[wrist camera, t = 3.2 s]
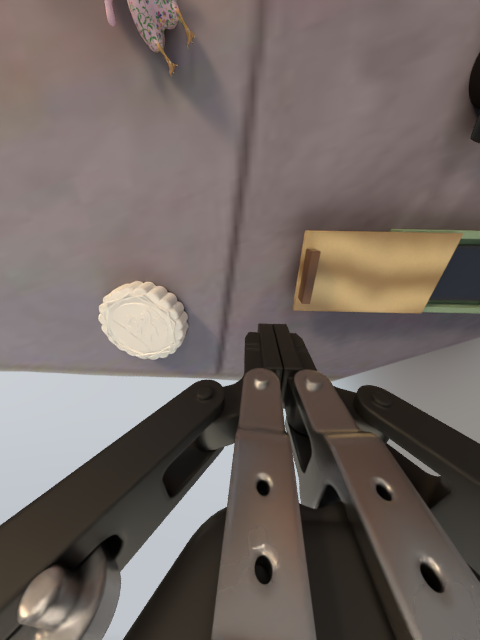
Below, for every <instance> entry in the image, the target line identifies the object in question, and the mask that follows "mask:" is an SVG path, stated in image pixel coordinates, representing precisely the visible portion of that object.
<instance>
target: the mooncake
mask: <svg viewBox="0 0 480 640" xmlns="http://www.w3.org/2000/svg"><path fill="white" fill-rule="evenodd" d="M99 311H100V313H101V314H100V315H99V317H98V318H99V321H100V323H101V324H103V325H102V330H103V332H104V333H105V334H106V335H107V336H108V339H109V340H110V341H111V342H112V343H114V345H116V346H117V347H118V348H119V349H120V350H123V351H126V352H127V353H128V354H129V355H131V356H137V357H139V358H141V359H147V358H149V359H152V360H155V359H158V358H159V357H160V358H165V357H167V356H168V355H169V354H173V353H174V352H175V351H176V350H177V348H178V347H179V346H180V345H181V344H182V342H183V340H184V338H185V336H186V331H187V329H188V323H187V319H188V315H187V313H186V312H184V306H183V304H182V303H181V302H179V301H177V298H176V296H175V295H174V294H173V293H169V292H167V290H166V289H165V288H164V287H163V286H156V285H155V284H153V283H152V282H145V283H142V282H140V281H134V282H132V283H131V284H128V283H127V284H124V285H122V286H120V287H118V288H116V289H114V290H113V291H112V292H111V293H110V294H108V295H106V296H105V297H104V298H103V303H102V304H101V305H100V306H99Z"/></svg>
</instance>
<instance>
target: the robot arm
mask: <svg viewBox="0 0 480 640" xmlns="http://www.w3.org/2000/svg"><path fill="white" fill-rule="evenodd" d="M283 408H284V409H285V411H286V415H287V416H286V420H285V425H284V416H283ZM285 427H286V430H287V432H286V431H285ZM389 438H390V439H391V440H392V441H394V442H395V443H396V444H398V445H399V446H401V447H402V448H404V449H405V450H406V451H408V452H409V453H410V454H412V455H413V456H414V457H416V458H417V459H419V460H420V461H421V462H423V463H424V464H426V465H427V466H428V467H430V468H431V469H432V470H434V471H435V472H437V473H438V474H439V475H441V476H439V477H437V476H433V475H430V474H428V473H426V472H424V471H423V470H422V469H420V468H419V467H418V466H416V465H415V464H414V463H412V462H411V461H410V460H408V459H407V458H406V457H404V456H403V455H402V454H400V453H399V452H398V451H396V450H395V449H394V448H392V447H391V446H390V445H388V444H387V441H388V440H389ZM233 443H235V445H234V454H233V462H232V470H231V479H230V487H229V495H228V504H227V507H226V508H224V509H222V510H220V511H218V512H217V513H215V514H214V515H213V516H211V517H210V518H209V519H208V520H207V521H206V522H205V523H203V524H202V525H201V526H200V528H199V529H198V530H197V531H196V532H195V534H194V535H193V536H192V537H191V539H190V540H189V542H188V543H187V544H186V546H185V547H184V549H183V551H182V552H181V553H180V555H179V557H178V558H177V559H176V561H175V562H174V564H173V566H172V567H171V569H170V570H169V571H168V573H167V574H166V576H165V577H164V579H163V580H162V582H161V583H160V585H159V586H158V588H157V589H156V591H155V592H154V594H153V595H152V597H151V598H150V600H149V602H148V603H147V604H146V606H145V607H144V609H143V610H142V612H141V613H140V615H139V616H138V618H137V619H136V621H135V622H134V624H133V625H132V627H131V628H130V630H129V631H128V633H127V634H126V636H125V637H124V639H123V640H480V444H479V443H477V442H476V441H474V440H472V439H470V438H469V437H467V436H465V435H463V434H462V433H460V432H458V431H456V430H455V429H453V428H451V427H449V426H447V425H446V424H444V423H442V422H441V421H439V420H437V419H435V418H434V417H432V416H430V415H428V414H427V413H425V412H423V411H421V410H419V409H418V408H416V407H414V406H413V405H411V404H409V403H407V402H406V401H404V400H402V399H400V398H399V397H397V396H395V395H394V394H391V393H390V392H388V391H386V390H384V389H382V388H379V387H377V386H371V385H366V386H361V387H360V388H359V389H358V391H357V393H355V392H351V391H347V390H343V389H340V388H337V387H335V386H333V385H332V383H331V382H330V380H329V379H328V378H327V377H326V376H325V375H323V374H322V373H320V372H317V369H316V367H315V365H314V363H313V361H312V359H311V357H310V354H309V352H308V350H307V348H306V347H305V344H304V342H303V339H302V338H301V337H299V336H298V335H297V334H296V333H289V330H288V327H287V325H286V324H258V332H249V333H248V334H247V336H246V337H245V358H244V376H243V377H242V379H241V380H240V381H238V382H237V383H235V384H233V385H229V386H225V387H222V386H221V384H219V383H218V382H216V381H214V380H201V381H198V382H196V383H194V384H192V385H191V386H190V387H188V388H187V389H186V390H184V391H183V392H182V393H180V394H179V395H177V396H176V397H175V398H173V399H172V400H171V401H169V402H168V403H167V404H165V405H164V406H162V407H161V408H160V409H158V410H157V411H156V412H155V413H153V414H152V415H150V416H149V417H147V418H146V419H145V420H143V421H142V422H141V423H139V424H138V425H137V426H135V427H134V428H132V429H131V430H130V431H128V432H127V433H126V434H124V435H123V436H122V437H120V438H119V439H118V440H116V441H115V442H113V443H112V444H111V445H109V446H108V447H107V448H105V449H104V450H102V451H101V452H100V453H98V454H97V455H96V456H94V457H93V458H92V459H90V460H89V461H88V462H86V463H85V464H84V465H82V466H81V467H79V468H78V469H77V470H75V471H74V472H72V473H71V474H70V475H68V476H67V477H66V478H64V479H63V480H62V481H60V482H59V483H58V484H56V485H55V486H53V487H52V488H51V489H49V490H48V491H47V492H46V493H44V494H42V495H41V496H40V497H38V498H37V499H36V500H34V501H33V502H32V503H30V504H29V505H28V506H26V507H25V508H23V509H22V510H21V511H19V512H18V513H17V514H15V515H14V516H13V517H11V518H10V519H8V520H7V521H6V522H4V523H3V524H2V525H0V640H102V638H103V637H104V635H105V633H106V631H107V629H108V627H109V625H110V623H111V621H112V618H113V616H114V613H115V610H116V607H117V603H118V600H119V596H120V588H121V576H120V571H121V570H122V569H123V568H124V566H125V565H126V564H127V563H128V562H129V561H130V559H131V558H132V557H133V556H134V555H135V553H136V552H137V551H138V550H139V549H140V548H141V546H142V545H143V544H144V543H145V542H146V540H147V539H148V538H149V537H150V536H151V535H152V533H153V532H154V531H155V530H156V529H157V527H158V526H159V525H160V524H161V523H162V522H163V520H164V519H165V518H166V517H167V516H168V514H169V513H170V512H171V511H172V510H173V508H174V507H175V506H176V505H177V504H178V503H179V501H180V500H181V499H182V498H183V497H184V495H185V494H186V493H187V492H188V491H189V489H190V488H191V487H192V486H193V485H194V484H195V482H196V481H197V480H198V479H199V477H200V476H201V475H202V474H203V473H204V472H205V470H206V469H207V468H208V467H209V466H210V464H211V463H212V462H213V461H214V460H215V459H216V457H217V456H218V455H219V454H220V453H221V451H222V450H223V448H224V447H225V446H227V445H230V444H233ZM292 453H293V454H292ZM293 457H294V461H295V464H296V468H297V472H298V476H299V484H300V499H301V504H300V503H299V500H298V493H297V485H296V477H295V470H294V462H293Z"/></svg>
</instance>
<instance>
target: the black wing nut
mask: <svg viewBox="0 0 480 640" xmlns="http://www.w3.org/2000/svg"><path fill="white" fill-rule="evenodd" d="M469 95H470V99H471V102H472V103H473V105H474V106H475V107H476V108H477V109H479V110H480V53H479V55H478V57H477V59H476V62H475V64H474V67H473V69H472V73H471V77H470V82H469ZM470 139H471V140H473V141H475V142H477V143H480V114H479V116H478V119H477V121H476V124H475V127H474V129H473V132H472V135H471V138H470Z"/></svg>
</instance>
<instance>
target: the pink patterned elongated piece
mask: <svg viewBox="0 0 480 640" xmlns="http://www.w3.org/2000/svg"><path fill="white" fill-rule="evenodd" d="M112 1H113V0H104V2H105V8H106V14H107V19H108V22H109V23H110V25H111V26H115V25H116V20H115V16H114V12H113V6H112ZM127 2H128V6H129V9H130V12H131V15H132V17H133V20H134V22H135V25H136V27H137V29H138V31H139V33H140V35H141V36H142V38H143V40H144V41H145V43H146V44H147V45H148V47H149V48H150V49H151V50H152V51H154V52H157V53H158V52H161V53H162V54H163V56H164V57H165V59H166V61H167V63H168V66H169V68H170V69H169V72H170V75H171V73H172V72H173V73H174V69H175V66H178V65H177V64H174V63H172V62H171V61H170V60H169V58H168V57H167V56H166V54H165V52H164V50H163V49H164V46H165V36H164V30H165V29H174V28H175V27H176V25H177V23H178V21H180V22H181V23H182V25H183V26H184V28H185V31H186V34H187V38H188V39H187V48H188V44H189V43H190V42H191V43H192V44H193V42H192V39H193V37H195V36H194V34H193V32H191V31H190V30H189V28H188V27H187V25H186V23H185V22H184V20H183V18H182V16H181V13H180V11H179V8H178V4H177V1H176V0H127ZM195 38H196V37H195ZM174 75H175V73H174ZM171 76H172V75H171Z"/></svg>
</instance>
